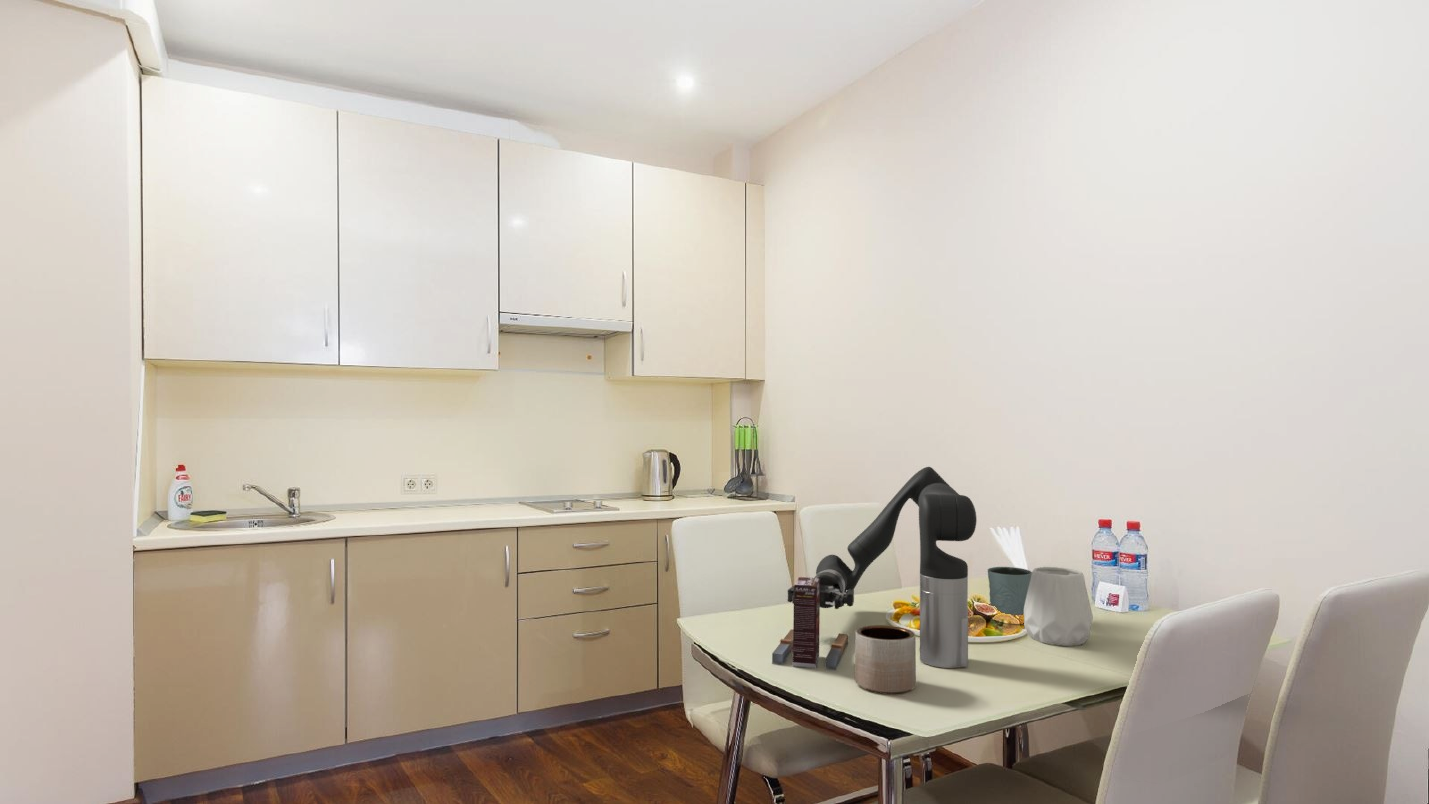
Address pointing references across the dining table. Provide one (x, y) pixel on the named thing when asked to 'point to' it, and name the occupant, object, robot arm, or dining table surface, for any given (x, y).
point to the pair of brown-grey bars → (831, 659)
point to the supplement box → (806, 622)
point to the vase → (1057, 607)
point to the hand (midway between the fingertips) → (816, 602)
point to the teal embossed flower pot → (1008, 589)
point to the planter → (885, 659)
